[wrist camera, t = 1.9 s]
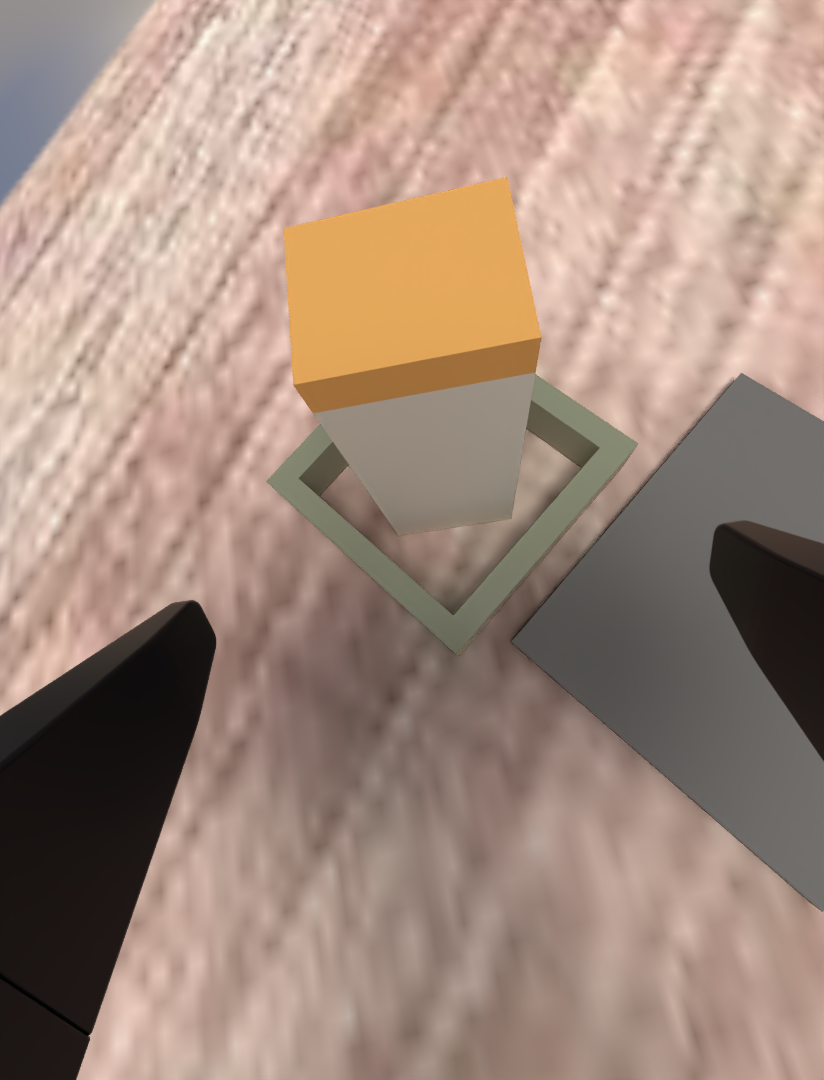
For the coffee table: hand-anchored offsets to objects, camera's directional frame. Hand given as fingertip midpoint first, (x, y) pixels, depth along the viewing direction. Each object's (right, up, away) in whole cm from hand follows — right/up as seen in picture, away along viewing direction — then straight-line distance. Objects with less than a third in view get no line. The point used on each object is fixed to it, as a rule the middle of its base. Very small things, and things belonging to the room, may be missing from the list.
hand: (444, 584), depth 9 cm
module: (+1, +3, +14) cm, 14 cm away
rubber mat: (+13, -2, +10) cm, 17 cm away
